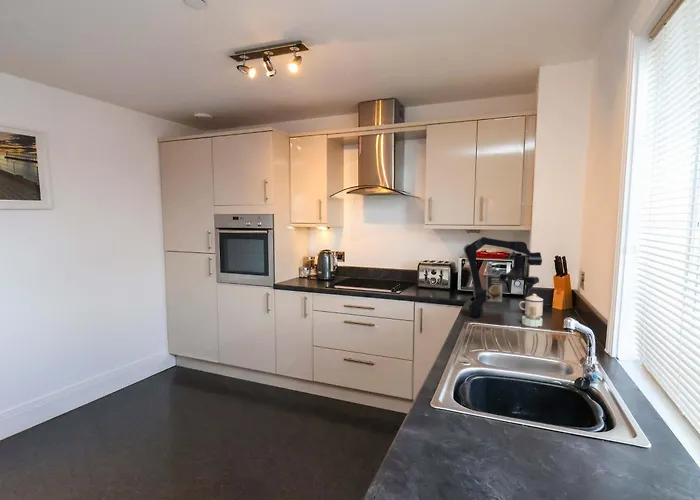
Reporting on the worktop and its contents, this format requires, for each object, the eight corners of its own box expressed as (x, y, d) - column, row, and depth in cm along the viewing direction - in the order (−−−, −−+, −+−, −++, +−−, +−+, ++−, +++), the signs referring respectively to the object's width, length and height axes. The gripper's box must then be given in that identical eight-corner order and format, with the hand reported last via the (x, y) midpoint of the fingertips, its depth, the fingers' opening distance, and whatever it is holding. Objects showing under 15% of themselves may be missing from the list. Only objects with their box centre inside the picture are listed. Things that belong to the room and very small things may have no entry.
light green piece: (518, 323, 189) (519, 317, 189) (527, 320, 195) (527, 314, 194) (536, 327, 182) (537, 321, 182) (545, 324, 188) (545, 318, 187)
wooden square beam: (528, 322, 188) (528, 306, 188) (530, 321, 190) (531, 306, 189) (533, 323, 186) (533, 307, 186) (535, 322, 188) (536, 307, 187)
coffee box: (487, 301, 237) (487, 276, 236) (485, 299, 243) (485, 274, 242) (502, 302, 236) (503, 276, 234) (499, 299, 242) (500, 275, 240)
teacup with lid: (541, 313, 209) (542, 292, 207) (544, 317, 200) (545, 296, 199) (517, 311, 212) (518, 291, 211) (519, 315, 204) (520, 294, 203)
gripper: (494, 264, 198) (493, 293, 200) (529, 268, 184) (528, 299, 185) (505, 262, 205) (504, 290, 207) (540, 266, 191) (538, 296, 192)
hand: (518, 294), depth 198 cm, fingers open, 9 cm apart
